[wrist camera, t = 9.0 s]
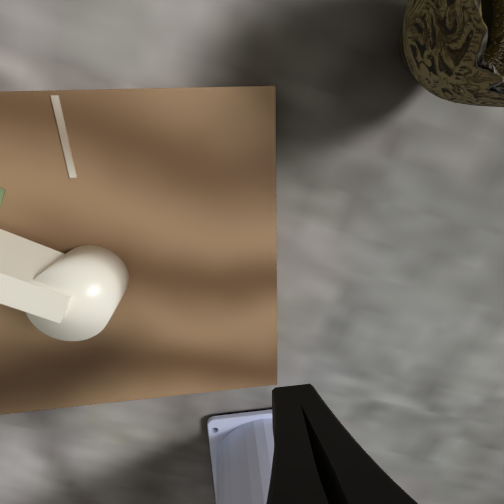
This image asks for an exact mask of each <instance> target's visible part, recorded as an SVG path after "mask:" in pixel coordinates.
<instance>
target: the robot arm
mask: <svg viewBox="0 0 504 504" xmlns="http://www.w3.org/2000/svg"><path fill="white" fill-rule="evenodd" d="M207 427H208V436H209V445H210V454H211V462H212V471H213V480H214V489H215V498H216V504H418V503H417V502H416V501H414V500H413V499H412V498H411V497H410V496H409V495H408V494H407V493H406V492H405V491H404V490H403V489H402V488H401V487H399V486H398V485H397V484H396V483H395V482H394V481H393V480H392V479H391V478H390V477H389V476H388V475H387V474H386V473H385V472H384V471H383V470H382V469H381V468H380V467H379V466H378V465H377V464H376V462H375V461H374V460H373V459H372V458H371V457H370V456H369V455H368V454H367V453H366V452H365V451H364V450H363V448H362V447H361V446H360V445H359V444H358V443H357V442H356V441H355V439H354V438H353V437H352V436H351V435H350V433H349V432H348V431H347V430H346V429H345V428H344V426H343V425H342V424H341V423H340V422H339V420H338V419H337V418H336V417H335V415H334V414H333V413H332V411H331V410H330V409H329V408H328V406H327V405H326V404H325V402H324V401H323V400H322V398H321V397H320V395H319V394H318V393H317V391H316V390H315V388H314V387H313V386H312V385H311V384H305V385H295V386H286V387H277V388H274V389H273V390H272V409H271V410H262V411H253V412H245V413H236V414H227V415H219V416H212V417H210V418H209V419H208V422H207Z"/></svg>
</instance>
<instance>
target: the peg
mask: <svg viewBox="0 0 504 504" xmlns="http://www.w3.org/2000/svg"><path fill="white" fill-rule="evenodd" d="M128 284H129V274H128V270H127V268H126V266H125V264H124V262H123V261H122V260H121V259H120V258H119V257H118V256H117V255H116V254H115V253H113V252H112V251H110V250H108V249H106V248H103V247H100V246H95V245H84V246H79V247H76V248H74V249H72V250H70V251H69V252H67V253H66V254H64V253H61V252H59V251H56V250H54V249H51V248H49V247H46V246H43V245H41V244H38V243H36V242H33V241H30V240H28V239H25V238H23V237H20V236H18V235H15V234H12V233H10V232H7V231H5V230H2V229H0V304H3V305H6V306H9V307H12V308H15V309H18V310H21V311H24V312H26V314H27V316H28V318H29V320H30V321H31V322H32V324H33V325H34V326H35V327H36V328H37V329H39V330H40V331H41V332H43V333H44V334H46V335H48V336H50V337H53V338H55V339H59V340H64V341H81V340H86V339H89V338H91V337H93V336H95V335H97V334H98V333H100V332H101V331H102V330H103V329H104V328H105V326H106V325H107V323H108V321H109V320H110V318H111V316H112V315H113V313H114V311H115V309H116V308H117V306H118V304H119V302H120V301H121V299H122V297H123V295H124V294H125V292H126V290H127V288H128Z"/></svg>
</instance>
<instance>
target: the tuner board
mask: <svg viewBox="0 0 504 504" xmlns="http://www.w3.org/2000/svg"><path fill="white" fill-rule="evenodd" d="M0 229H2V230H5V231H7V232H10V233H12V234H15V235H18V236H20V237H23V238H25V239H28V240H30V241H33V242H36V243H38V244H41V245H43V246H46V247H49V248H51V249H54V250H56V251H59V252H61V253H64V254H66V253H67V252H69V251H70V250H72V249H74V248H76V247H79V246H84V245H95V246H100V247H103V248H106V249H108V250H110V251H112V252H113V253H115V254H116V255H117V256H118V257H119V258H120V259H121V260H122V261H123V262H124V264H125V266H126V268H127V270H128V274H129V284H128V288H127V290H126V292H125V294H124V295H123V297H122V299H121V301H120V302H119V304H118V306H117V308H116V309H115V311H114V313H113V315H112V316H111V318H110V320H109V321H108V323H107V325H106V326H105V328H104V329H103V330H102V331H101V332H100V333H98V334H97V335H95V336H93V337H91V338H89V339H86V340H81V341H64V340H59V339H55V338H53V337H50V336H48V335H46V334H44V333H43V332H41V331H40V330H39V329H37V328H36V327H35V326H34V325H33V324H32V322H31V321H30V320H29V318H28V316H27V314H26V312H24V311H21V310H18V309H15V308H12V307H9V306H6V305H3V304H0V414H9V413H18V412H27V411H36V410H46V409H55V408H64V407H73V406H82V405H92V404H101V403H110V402H119V401H128V400H138V399H147V398H156V397H165V396H175V395H184V394H193V393H202V392H211V391H221V390H230V389H239V388H248V387H257V386H267V385H276V384H277V260H276V95H275V86H243V87H197V88H151V89H105V90H58V91H12V92H0Z"/></svg>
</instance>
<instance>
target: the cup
mask: <svg viewBox="0 0 504 504" xmlns="http://www.w3.org/2000/svg"><path fill="white" fill-rule="evenodd" d="M400 54H401V57H402V60H403V62H404V64H405V66H406V67H407V68H408V69H409V70H410V71H411V72H412V74H413V76H414V77H415V79H416V80H417V81H418V82H419V83H420V84H421V85H422V86H423V87H424V88H425V89H426V90H428V91H429V92H430V93H432V94H434V95H435V96H437V97H439V98H442V99H445V100H448V101H451V102H455V103H461V104H468V105H477V106H492V107H504V0H408V3H407V7H406V11H405V15H404V22H403V28H402V31H401V35H400Z"/></svg>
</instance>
